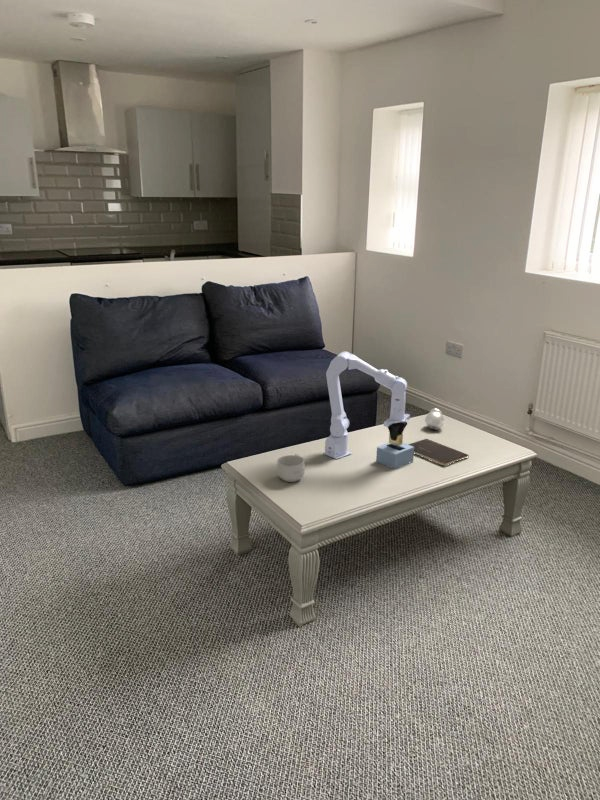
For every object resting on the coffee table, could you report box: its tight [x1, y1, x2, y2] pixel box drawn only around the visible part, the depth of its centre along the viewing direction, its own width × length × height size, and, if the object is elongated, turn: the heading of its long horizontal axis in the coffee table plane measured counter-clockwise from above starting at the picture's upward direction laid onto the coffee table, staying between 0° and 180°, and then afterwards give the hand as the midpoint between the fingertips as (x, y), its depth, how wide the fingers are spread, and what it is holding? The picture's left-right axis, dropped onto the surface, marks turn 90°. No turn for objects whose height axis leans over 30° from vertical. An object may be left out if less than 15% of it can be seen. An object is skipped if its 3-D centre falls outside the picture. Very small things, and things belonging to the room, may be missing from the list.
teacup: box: [276, 453, 306, 483], centre depth 249 cm, size 14×11×8 cm
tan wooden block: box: [388, 432, 404, 446], centre depth 264 cm, size 3×5×4 cm, turn 42°
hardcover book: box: [408, 438, 469, 467], centre depth 275 cm, size 16×23×2 cm
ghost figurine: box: [424, 407, 445, 430], centre depth 303 cm, size 9×10×10 cm
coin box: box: [375, 442, 415, 470], centre depth 266 cm, size 12×10×6 cm
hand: (395, 439), depth 264 cm, fingers closed on tan wooden block, 3 cm apart
